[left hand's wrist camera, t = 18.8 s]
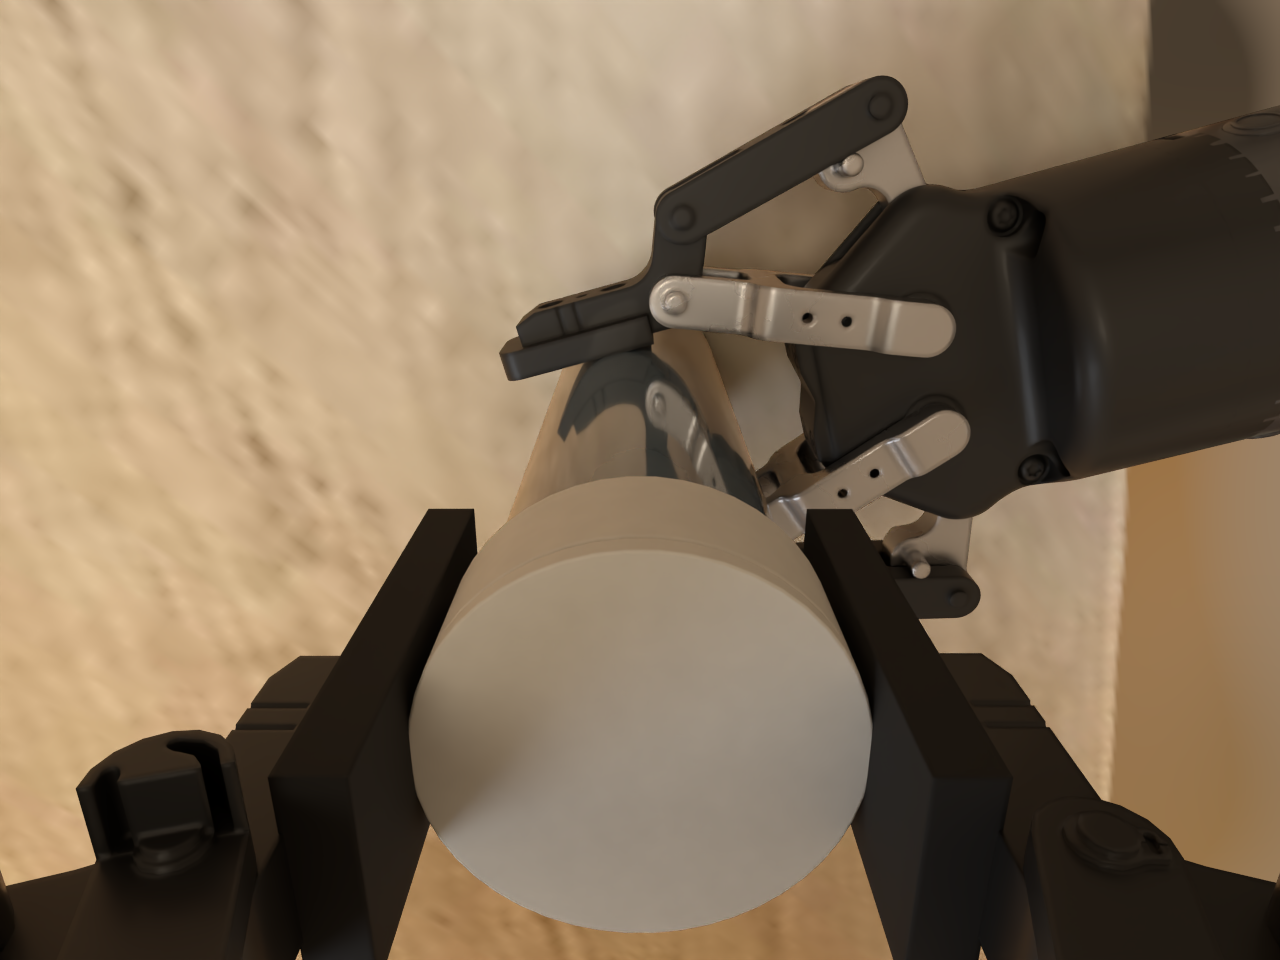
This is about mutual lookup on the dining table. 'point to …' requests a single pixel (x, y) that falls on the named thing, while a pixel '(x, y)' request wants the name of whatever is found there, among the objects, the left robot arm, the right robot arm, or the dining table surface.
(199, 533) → the dining table surface
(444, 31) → the dining table surface
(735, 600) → the lid
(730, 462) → the grey cylinder
